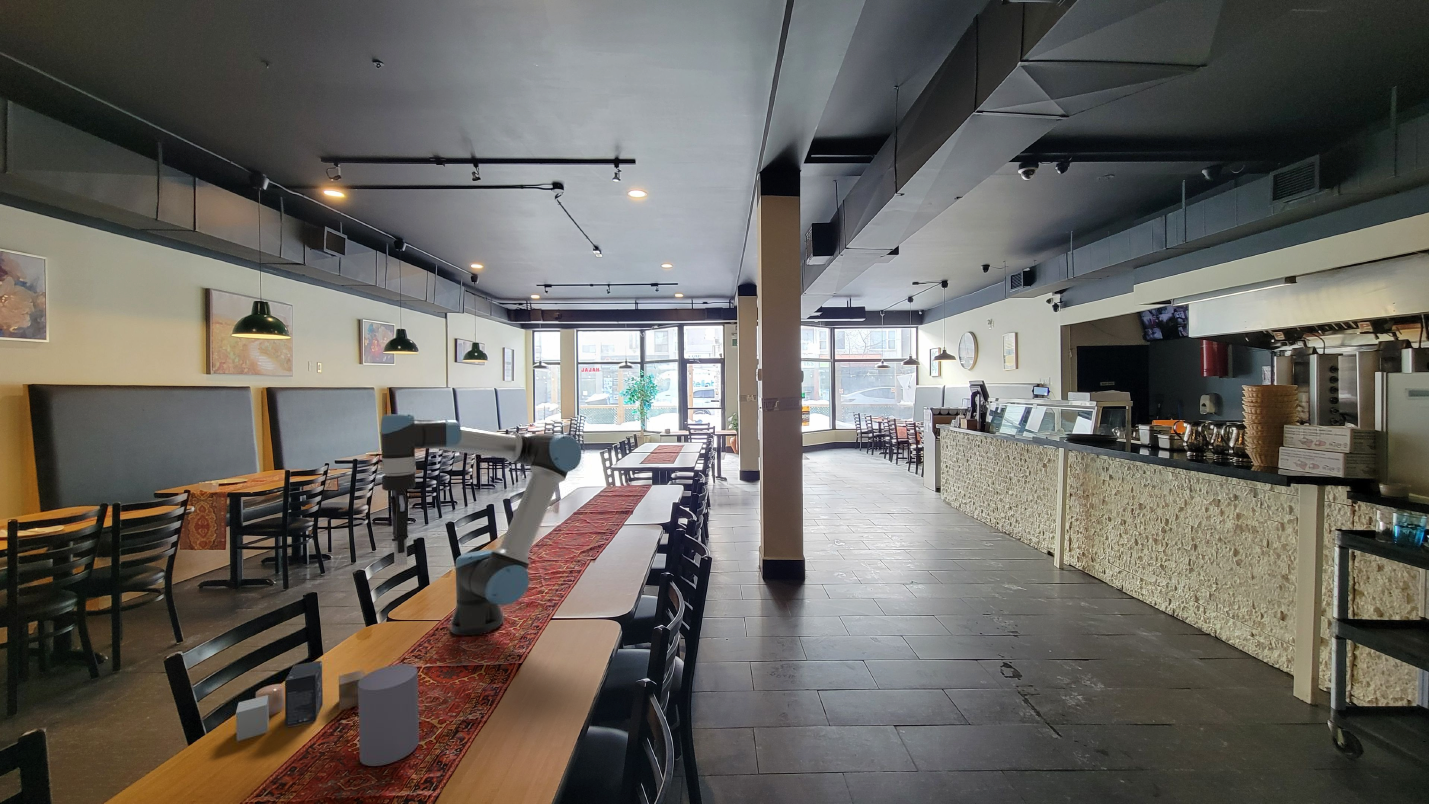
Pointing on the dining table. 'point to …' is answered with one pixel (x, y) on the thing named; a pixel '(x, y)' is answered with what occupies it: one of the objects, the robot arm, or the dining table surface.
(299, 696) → the box
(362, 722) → the container
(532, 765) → the dining table surface
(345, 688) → the walnut block
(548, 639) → the dining table surface
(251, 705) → the slate block
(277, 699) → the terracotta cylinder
